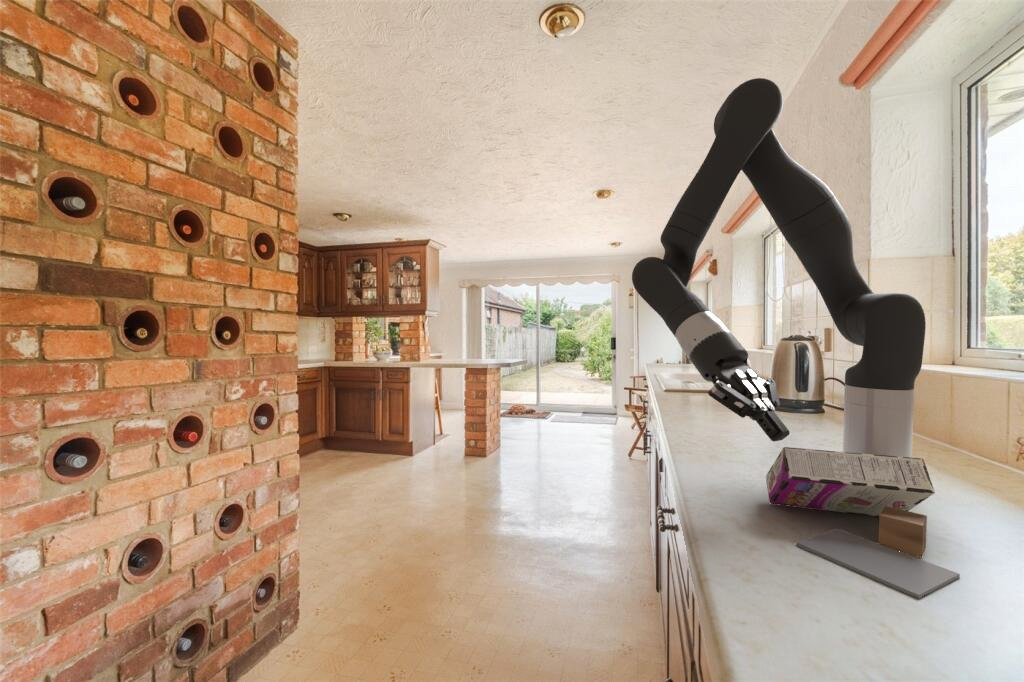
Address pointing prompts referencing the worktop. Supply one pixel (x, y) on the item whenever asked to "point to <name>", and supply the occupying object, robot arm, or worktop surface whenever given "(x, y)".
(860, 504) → the candy bar box
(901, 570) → the plate
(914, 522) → the walnut block
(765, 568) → the worktop surface
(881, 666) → the worktop surface
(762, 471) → the worktop surface
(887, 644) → the worktop surface
